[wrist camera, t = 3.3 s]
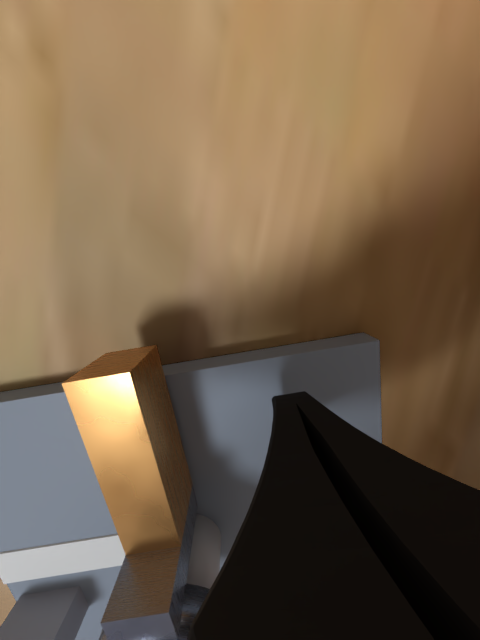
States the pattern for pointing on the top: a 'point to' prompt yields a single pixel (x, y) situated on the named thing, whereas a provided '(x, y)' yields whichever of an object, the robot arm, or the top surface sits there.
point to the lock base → (202, 458)
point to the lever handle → (140, 492)
